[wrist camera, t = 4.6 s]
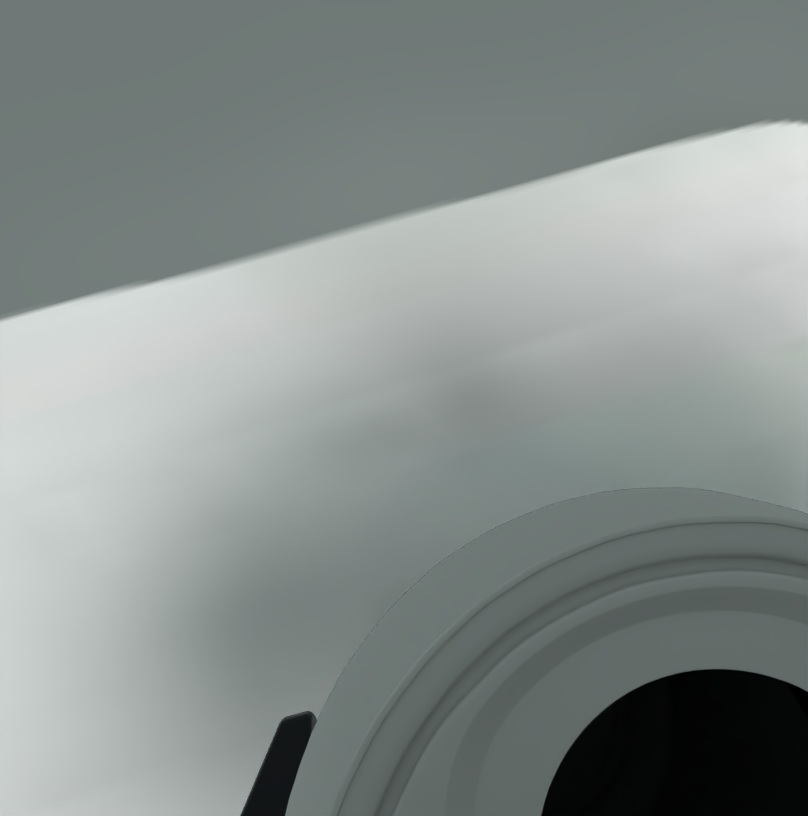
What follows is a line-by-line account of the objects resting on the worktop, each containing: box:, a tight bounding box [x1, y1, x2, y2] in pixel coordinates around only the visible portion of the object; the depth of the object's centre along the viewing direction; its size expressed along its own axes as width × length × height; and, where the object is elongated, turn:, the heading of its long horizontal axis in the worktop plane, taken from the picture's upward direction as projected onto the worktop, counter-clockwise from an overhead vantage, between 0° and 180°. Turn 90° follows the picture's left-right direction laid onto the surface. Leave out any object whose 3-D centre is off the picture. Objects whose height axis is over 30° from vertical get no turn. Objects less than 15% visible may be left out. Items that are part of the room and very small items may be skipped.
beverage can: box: [285, 488, 808, 816], centre depth 9 cm, size 6×6×12 cm
